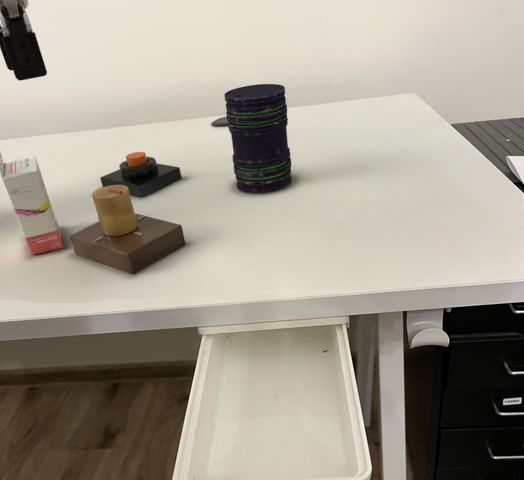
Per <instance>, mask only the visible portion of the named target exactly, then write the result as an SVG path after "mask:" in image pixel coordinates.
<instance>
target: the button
mask: <svg viewBox="0 0 524 480" xmlns="http://www.w3.org/2000/svg"><path fill="white" fill-rule="evenodd" d="M146 157H147V154H146V152H145V151H136V152H131V153H129V154H126V156H125V161H126V160H127V164H128V166H130V167H133V166H140V165H144V164H146V163H148V162H147V158H146Z"/></svg>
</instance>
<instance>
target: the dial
mask: <svg viewBox="0 0 524 480" xmlns="http://www.w3.org/2000/svg"><path fill="white" fill-rule="evenodd" d="M91 198H92V201H93V204H94V208H95V211H96V214H97V217H98V222H99V221H100V224H101V228H102V231H103V233H104V234H105V235H108V236H119V235H124V234H127V233H130V232H132V231H134V230H135V229H136V228H137V226H138V224H137V220H136V216H135V213H136V212H135V209H134V204H133V201H132V195H130V193H129V189H128V187H127V186H125V185H110V186H106V187H103V186H102V187H99V188H97V189H96V190H94V191H93V192H92V193H91Z"/></svg>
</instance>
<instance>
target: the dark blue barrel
mask: <svg viewBox="0 0 524 480" xmlns="http://www.w3.org/2000/svg"><path fill="white" fill-rule="evenodd" d="M285 94H286V87H285V86H284V85H282V84H277V83H259V84H251V85H245V86H240V87H237V88H236V87H235V88H233V89H230V90H228V91H226V92H225V93H224V94H223V95H224V101H225V110H226V111H225V114H226V120H227V128H228V131H229V132H230V135H231V136H230V137H231V143H232V150H233V154H232V162H233V163H232V164H233V173H234V175H235V179H236V188H237V190H238V191H240V192H241V193H245V194H248V195H249V194H250V195H263V194H271V193H276V192H279V191H283V190H284V189H286V188H288V187H290V185H291V184H293V183H292V182H293V177H292V175H291V174H292V158H291V148H290V147H289V144H288V143H289V142H288V132H287V130H288V129H287V127H288V125H289V122H288V120H289V118H288V105H287V99H286V96H285Z"/></svg>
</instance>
